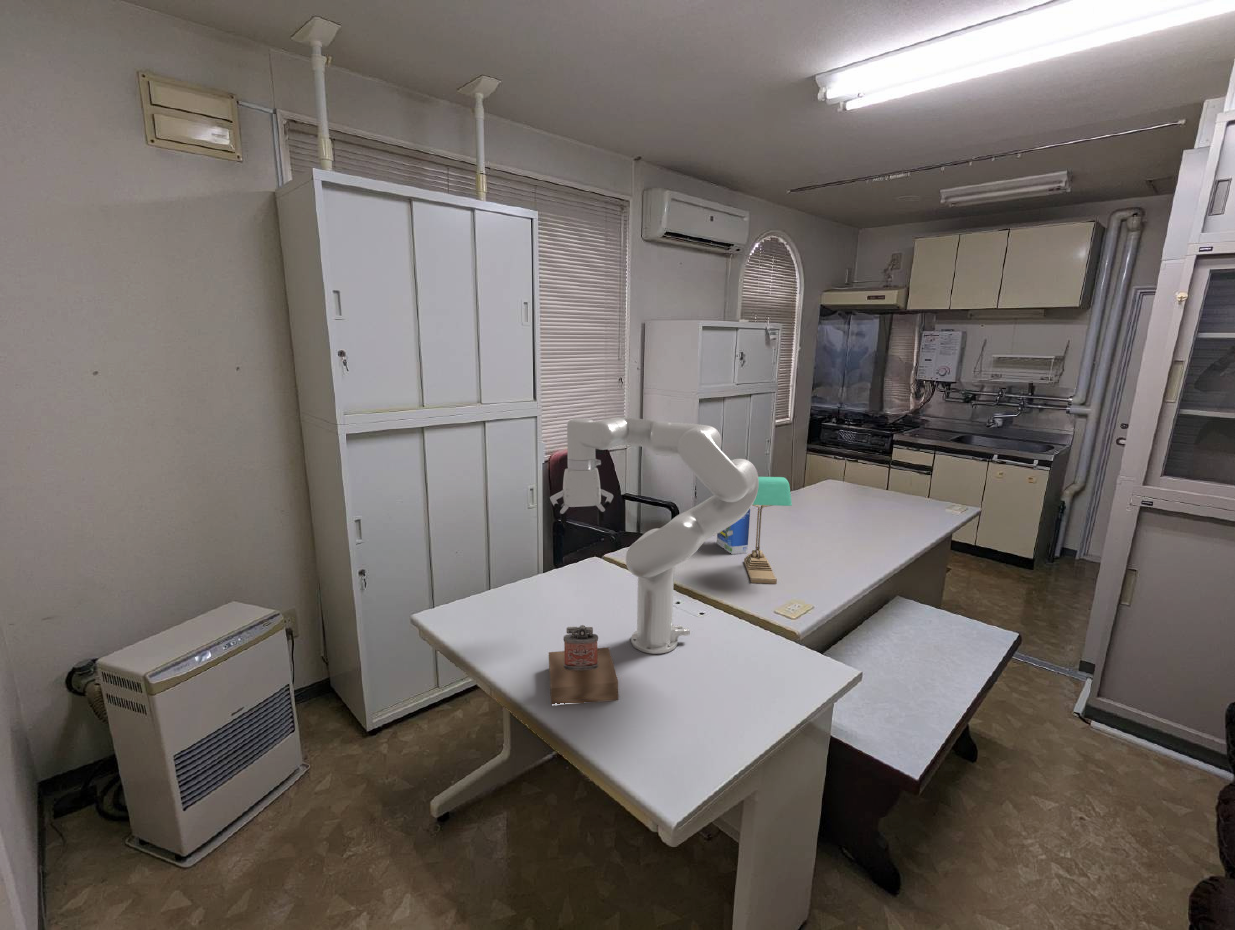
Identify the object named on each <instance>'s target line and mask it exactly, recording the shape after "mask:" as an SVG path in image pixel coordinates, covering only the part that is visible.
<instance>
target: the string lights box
mask: <svg viewBox="0 0 1235 930" xmlns="http://www.w3.org/2000/svg"><path fill="white" fill-rule="evenodd" d="M750 519H751V508H750V509H749V510H748V512H747V513H746V514H745V515H744V516H743V517H742V518H741V519H739V520H738V521H737V522H735V523H734V524H732V525H731V526H729V527H728V528H726V529H724V530H723V531H721V532H719V533H718V534H716V544H717V545H718V546H719V547H720V548H722V549H723V548H724V550H725V551H726V552H728V553H729V554H730V553H731V555H741V554H749V553H748V549H749V537H750V536H749V533H750V521H751V520H750ZM740 553H741V554H740Z"/></svg>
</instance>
